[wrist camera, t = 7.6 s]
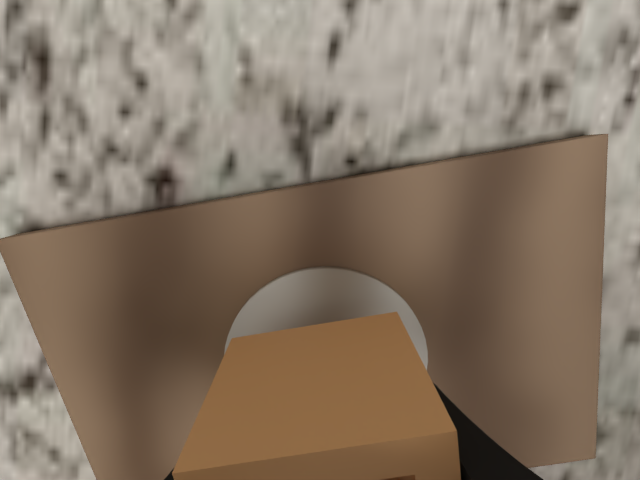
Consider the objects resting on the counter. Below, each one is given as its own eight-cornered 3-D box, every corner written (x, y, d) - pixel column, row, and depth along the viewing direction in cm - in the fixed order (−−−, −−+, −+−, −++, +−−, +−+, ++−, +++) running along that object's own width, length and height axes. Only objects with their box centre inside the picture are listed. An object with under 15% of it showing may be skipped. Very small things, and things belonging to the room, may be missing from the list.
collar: (396, 311, 11) (457, 430, 7) (413, 446, 13) (473, 626, 8) (231, 338, 12) (171, 473, 7) (266, 468, 13) (237, 658, 8)
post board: (585, 135, 13) (810, 121, 7) (578, 440, 16) (724, 600, 10) (18, 233, 13) (-207, 296, 8) (128, 506, 17) (30, 691, 11)
